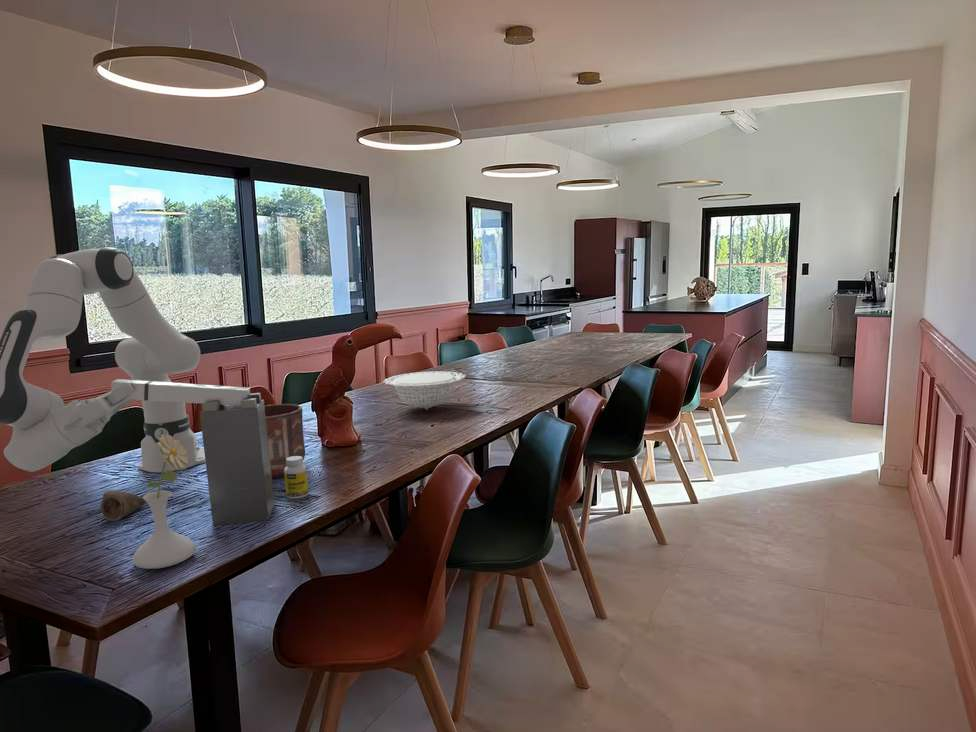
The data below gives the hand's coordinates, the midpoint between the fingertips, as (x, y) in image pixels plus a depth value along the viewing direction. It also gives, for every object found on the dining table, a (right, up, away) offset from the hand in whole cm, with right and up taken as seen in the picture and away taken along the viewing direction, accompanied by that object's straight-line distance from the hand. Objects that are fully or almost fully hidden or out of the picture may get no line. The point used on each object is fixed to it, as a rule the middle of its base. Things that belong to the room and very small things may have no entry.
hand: (136, 384), depth 145 cm
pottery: (+18, -26, +40) cm, 51 cm away
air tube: (+9, -4, +2) cm, 10 cm away
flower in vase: (+14, -35, -14) cm, 40 cm away
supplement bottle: (+30, -29, +20) cm, 46 cm away
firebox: (+21, -31, +8) cm, 38 cm away
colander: (+54, -13, +112) cm, 125 cm away
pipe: (-13, -32, +16) cm, 38 cm away
